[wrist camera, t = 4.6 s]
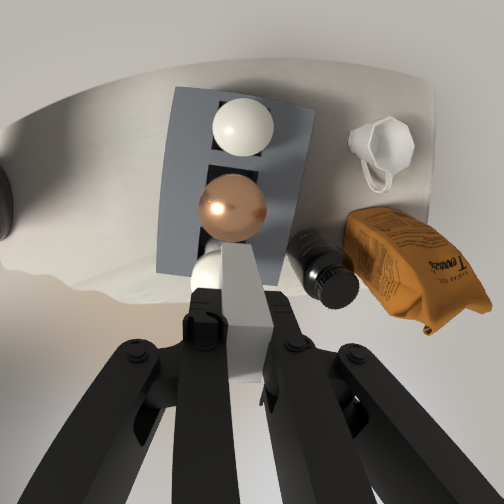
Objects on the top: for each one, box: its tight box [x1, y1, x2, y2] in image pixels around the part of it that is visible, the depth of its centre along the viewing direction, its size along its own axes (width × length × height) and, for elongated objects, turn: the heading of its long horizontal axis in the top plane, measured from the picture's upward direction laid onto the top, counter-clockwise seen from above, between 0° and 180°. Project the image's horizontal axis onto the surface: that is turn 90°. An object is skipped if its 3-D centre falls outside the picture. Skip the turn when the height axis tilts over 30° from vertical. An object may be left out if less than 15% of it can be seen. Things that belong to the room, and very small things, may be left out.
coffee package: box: [344, 207, 492, 336], centre depth 30 cm, size 10×12×22 cm
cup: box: [348, 116, 415, 193], centre depth 31 cm, size 7×10×8 cm
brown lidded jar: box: [198, 174, 267, 242], centre depth 24 cm, size 5×5×8 cm
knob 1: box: [191, 236, 236, 292], centre depth 27 cm, size 5×5×8 cm
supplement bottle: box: [288, 229, 359, 310], centre depth 34 cm, size 7×7×12 cm
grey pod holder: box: [156, 87, 316, 286], centre depth 31 cm, size 14×20×8 cm
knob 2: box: [213, 98, 274, 156], centre depth 25 cm, size 5×5×8 cm
